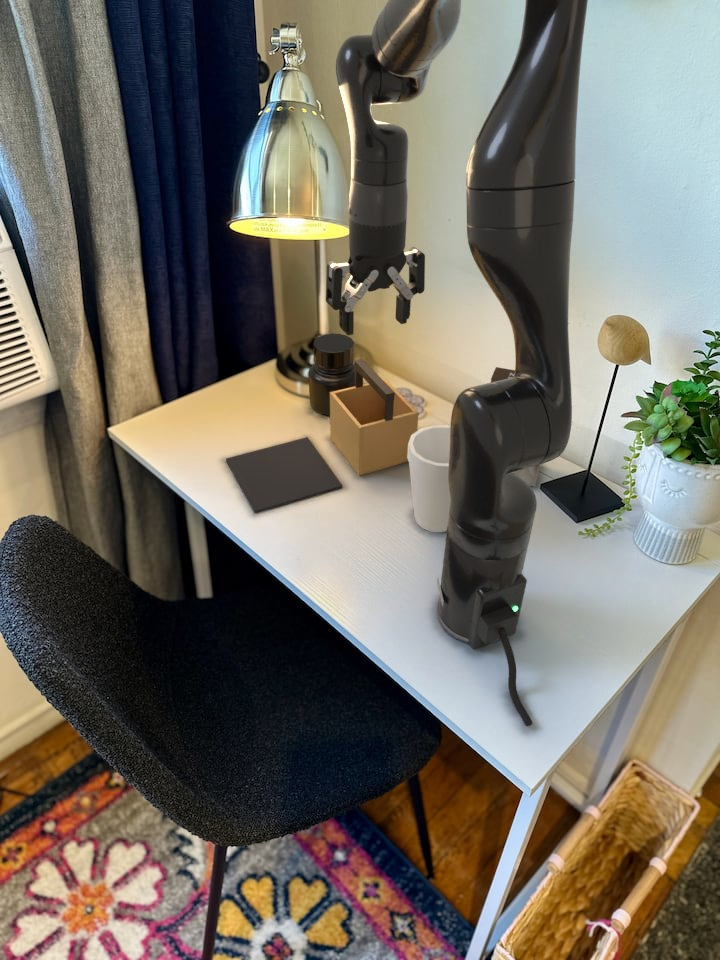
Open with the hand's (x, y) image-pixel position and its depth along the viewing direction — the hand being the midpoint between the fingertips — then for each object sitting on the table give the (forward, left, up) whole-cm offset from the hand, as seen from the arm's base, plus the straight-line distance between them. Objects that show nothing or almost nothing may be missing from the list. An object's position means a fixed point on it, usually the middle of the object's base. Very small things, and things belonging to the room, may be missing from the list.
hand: (375, 327), depth 104 cm
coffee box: (-14, -17, -22) cm, 31 cm away
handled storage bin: (0, 0, -22) cm, 22 cm away
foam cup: (-19, -1, -22) cm, 29 cm away
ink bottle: (+15, 0, -22) cm, 27 cm away
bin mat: (0, +16, -22) cm, 27 cm away
